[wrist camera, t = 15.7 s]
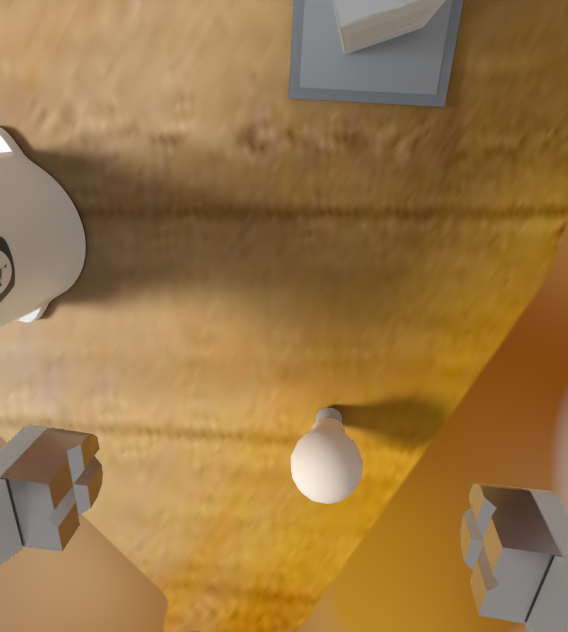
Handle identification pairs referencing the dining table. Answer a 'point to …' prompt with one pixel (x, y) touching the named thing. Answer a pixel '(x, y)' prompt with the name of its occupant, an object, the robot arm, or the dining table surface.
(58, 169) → the dining table surface
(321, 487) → the light bulb
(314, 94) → the plate
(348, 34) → the skincare box
